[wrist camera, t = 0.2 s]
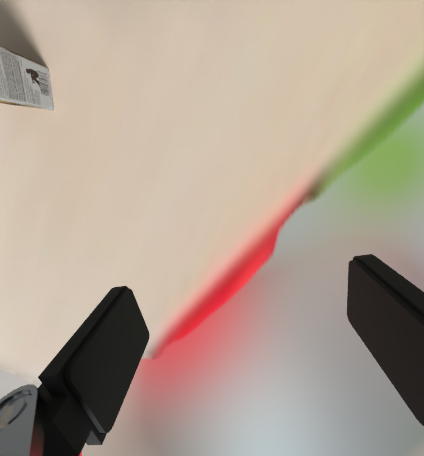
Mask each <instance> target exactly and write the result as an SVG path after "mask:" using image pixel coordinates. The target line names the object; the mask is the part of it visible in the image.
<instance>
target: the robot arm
mask: <svg viewBox="0 0 424 456" xmlns="http://www.w3.org/2000/svg"><path fill="white" fill-rule="evenodd" d="M347 316H348V319H349V322H350V323H351V325H352V326H353V328H354V329H355V331H356V332H357V333H358V335H359V336H360V338H361V339H362V341H363V342H364V343H365V345H366V346H367V348H368V349H369V351H370V352H371V353H372V355H373V357H374V358H375V359H376V361H377V362H378V364H379V365H380V367H381V368H382V370H383V371H384V372H385V374H386V375H387V377H388V378H389V380H390V381H391V383H392V384H393V385H394V387H395V388H396V390H397V391H398V393H399V394H400V396H401V397H402V398H403V400H404V401H405V403H406V404H407V406H408V407H409V408H410V410H411V411H412V413H413V414H414V416H415V417H416V418H417V420H418V421H419V422H420V423H421V424H422V425H423V426H424V292H423V291H421V290H420V289H419V288H417V287H416V286H415V285H413V284H412V283H411V282H409V281H408V280H407V279H405V278H404V277H403V276H401V275H400V274H398V273H397V272H396V271H394V270H393V269H392V268H390V267H389V266H388V265H386V264H385V263H383V262H382V261H381V260H380V259H378V258H377V257H376V256H374V255H372V254H369V255H361V256H355V257H354V258H353V260H352V261H350V262H349V272H348V298H347ZM148 340H149V331H148V329H147V326H146V324H145V321H144V319H143V316H142V314H141V311H140V309H139V306H138V304H137V302H136V299H135V297H134V294H133V292H132V290H131V289H129V288H128V287H127V286H121V287H114V288H112V289H111V290H110V291H109V292H108V294H107V295H106V296H105V297H104V299H103V300H102V301H101V302H100V303H99V305H98V306H97V307H96V308H95V309H94V311H93V312H92V313H91V314H90V315H89V317H88V318H87V319H86V320H85V321H84V323H83V324H82V325H81V326H80V327H79V329H78V330H77V331H76V332H75V333H74V335H73V336H72V337H71V338H70V339H69V341H68V342H67V343H66V344H65V345H64V347H63V348H62V349H61V350H60V351H59V353H58V354H57V355H56V356H55V358H54V359H53V360H52V361H51V362H50V364H49V365H48V366H47V367H46V368H45V370H44V371H43V372H42V373H41V374H40V376H39V377H38V378H39V379H40V381H41V382H42V384H41V385H40V387H39V388H37V387H36V386H35V385H25V386H21V387H19V388H17V389H15V390H13V391H12V392H10V393H9V394H7V395H6V396H4V397H3V398H2V399H0V456H82V449H83V447H84V444H85V443H87V445H102V443H103V441H104V439H105V436H106V434H107V433H108V432H109V431H110V430H111V429H112V427H113V425H114V422H115V420H116V418H117V415H118V413H119V410H120V408H121V405H122V403H123V401H124V398H125V396H126V394H127V391H128V389H129V386H130V384H131V381H132V379H133V377H134V374H135V372H136V369H137V367H138V364H139V362H140V360H141V357H142V355H143V353H144V350H145V348H146V345H147V343H148Z"/></svg>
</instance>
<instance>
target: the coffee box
mask: <svg viewBox="0 0 424 456" xmlns="http://www.w3.org/2000/svg"><path fill="white" fill-rule="evenodd" d="M0 103H4V104H10V105H18V106H26V107H33V108H41V109H49V110H54V106H53V99H52V92H51V85H50V77H49V71H48V68H47V67H45V66H43V65H40V64H38V63H36V62H34V61H31V60H29V59H27V58H25V57H23V56H20V55H18V54H16V53H14V52H12V51H9V50H7V49H5V48H3V47H1V46H0Z"/></svg>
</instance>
